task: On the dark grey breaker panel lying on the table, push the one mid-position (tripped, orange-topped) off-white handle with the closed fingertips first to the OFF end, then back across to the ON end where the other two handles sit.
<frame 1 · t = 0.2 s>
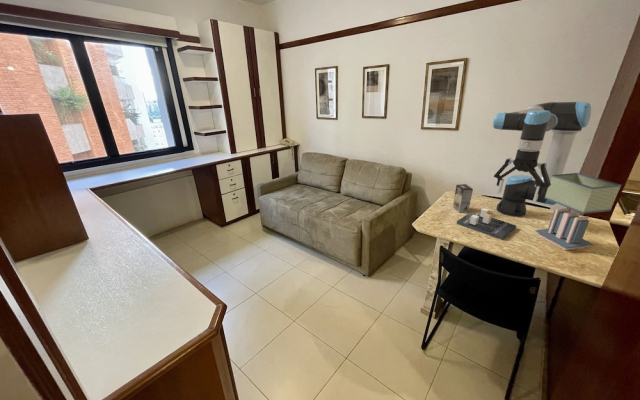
hand: (516, 196, 115), 28 cm above the table, fingers open, 13 cm apart
panel: (485, 226, 146), on the table
breaker c: (474, 219, 144), point 5 cm above the table, slide at -4.0 cm
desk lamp: (561, 241, 129), on the table
tripped breaker: (487, 218, 144), point 5 cm above the table, slide at 0.0 cm
breaker a: (484, 213, 151), point 5 cm above the table, slide at -4.0 cm
coffee box: (460, 209, 168), on the table
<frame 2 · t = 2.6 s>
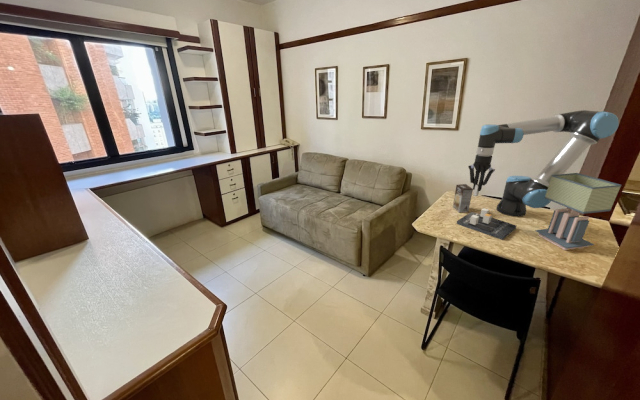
hand: (475, 195, 146), 17 cm above the table, fingers closed
nothing on the table moved.
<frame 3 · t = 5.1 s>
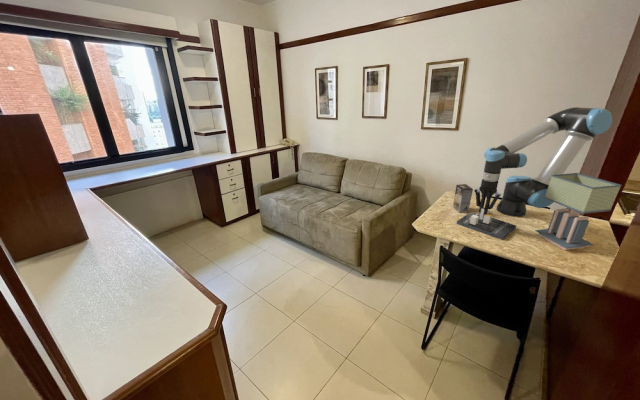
hand: (481, 218, 147), 4 cm above the table, fingers closed
tripped breaker: (487, 218, 144), point 5 cm above the table, slide at 0.2 cm, touching gripper
everything else where it was.
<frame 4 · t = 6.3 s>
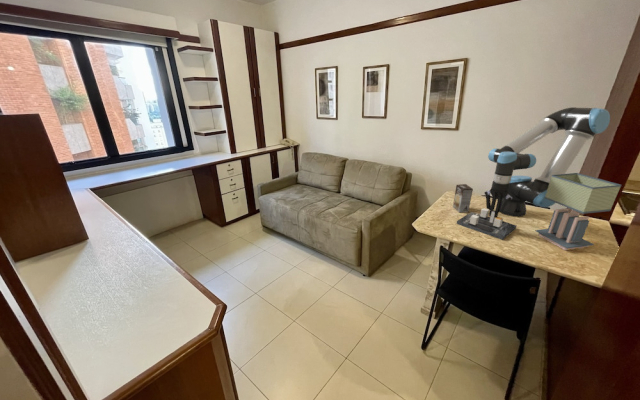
hand: (491, 221, 143), 4 cm above the table, fingers closed
tripped breaker: (498, 221, 140), point 5 cm above the table, slide at 5.5 cm, touching gripper
everything else where it was.
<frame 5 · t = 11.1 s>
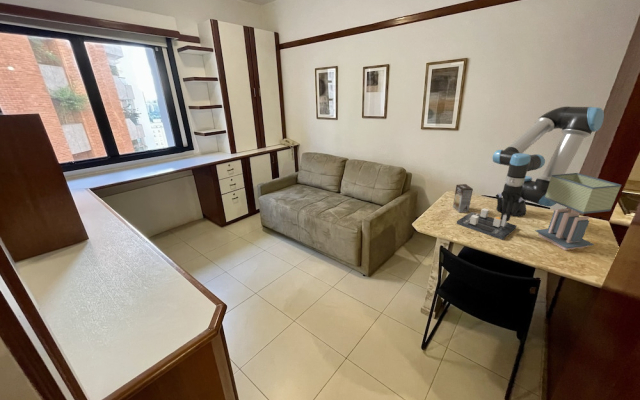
hand: (503, 225, 138), 4 cm above the table, fingers closed
nothing on the table moved.
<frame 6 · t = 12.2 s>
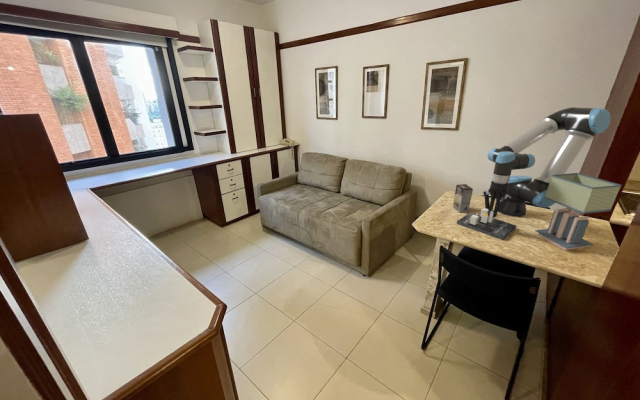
hand: (490, 221, 143), 4 cm above the table, fingers closed
tripped breaker: (485, 217, 145), point 5 cm above the table, slide at -0.9 cm, touching gripper
everything else where it was.
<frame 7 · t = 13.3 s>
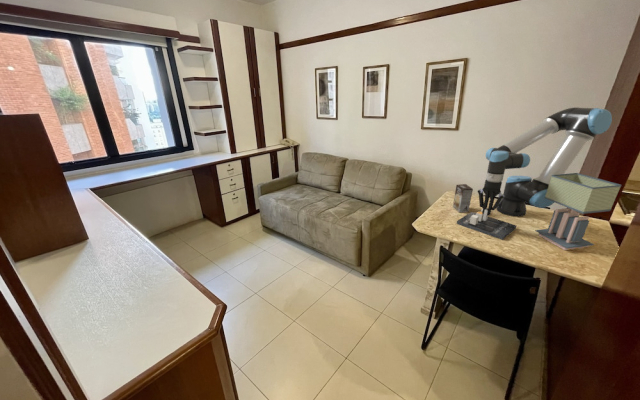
hand: (484, 219, 145), 4 cm above the table, fingers closed
tripped breaker: (479, 216, 147), point 5 cm above the table, slide at -3.9 cm, touching gripper
everything else where it was.
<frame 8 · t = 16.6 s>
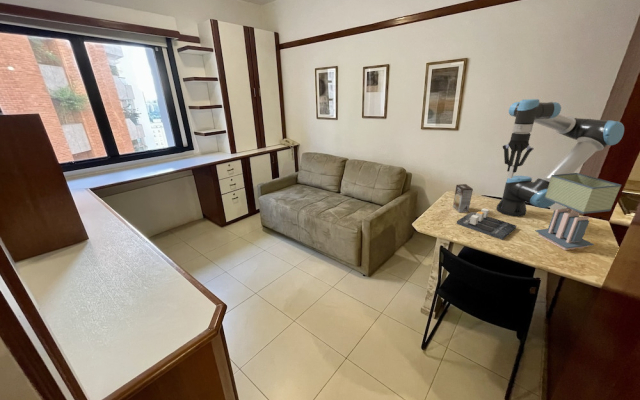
hand: (510, 177, 136), 28 cm above the table, fingers closed
tripped breaker: (479, 216, 147), point 5 cm above the table, slide at -3.9 cm
everything else where it was.
at the end: tripped breaker slide at -3.9 cm; breaker c slide at -4.0 cm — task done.
